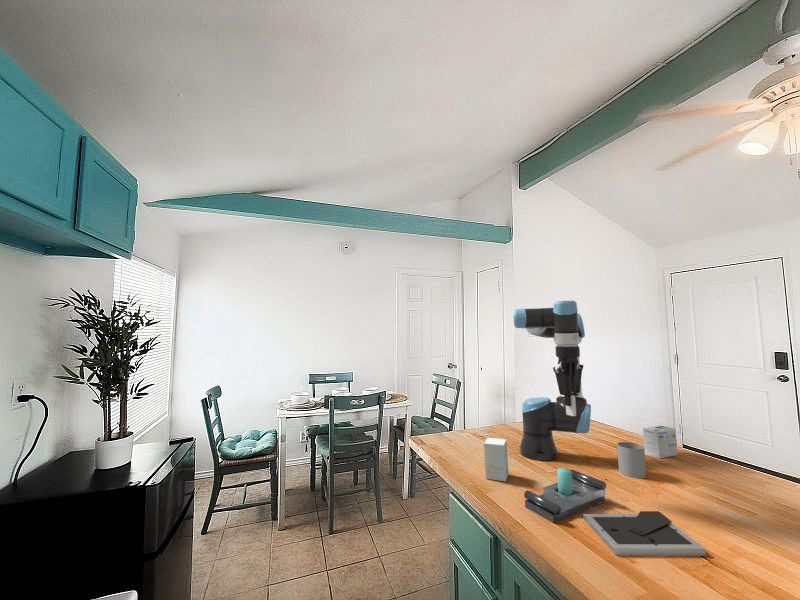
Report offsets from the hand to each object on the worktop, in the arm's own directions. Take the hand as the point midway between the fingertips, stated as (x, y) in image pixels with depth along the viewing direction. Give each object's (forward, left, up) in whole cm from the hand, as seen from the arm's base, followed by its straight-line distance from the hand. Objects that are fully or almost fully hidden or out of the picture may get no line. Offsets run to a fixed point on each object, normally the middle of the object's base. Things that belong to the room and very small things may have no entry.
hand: (571, 415), depth 120 cm
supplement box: (-20, -16, -24) cm, 35 cm away
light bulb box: (-3, +58, -24) cm, 63 cm away
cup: (+2, +28, -24) cm, 38 cm away
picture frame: (+25, -10, -25) cm, 37 cm away
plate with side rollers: (+6, -12, -24) cm, 27 cm away
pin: (+5, -12, -24) cm, 27 cm away
